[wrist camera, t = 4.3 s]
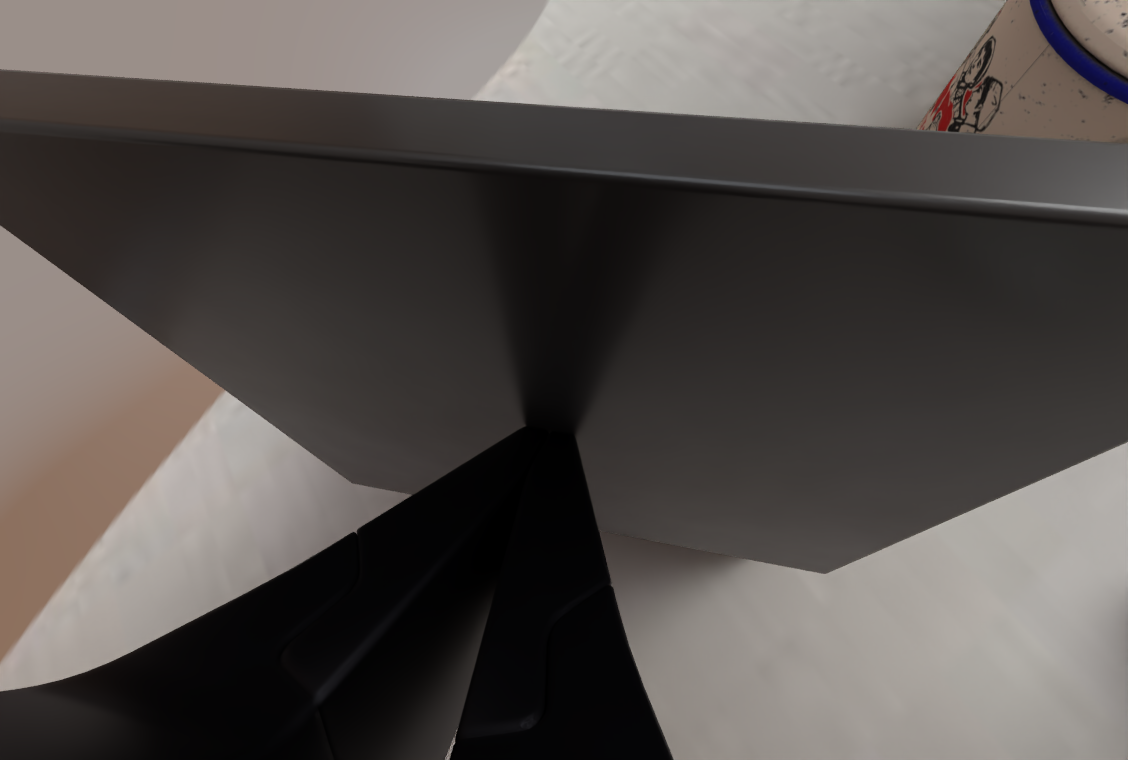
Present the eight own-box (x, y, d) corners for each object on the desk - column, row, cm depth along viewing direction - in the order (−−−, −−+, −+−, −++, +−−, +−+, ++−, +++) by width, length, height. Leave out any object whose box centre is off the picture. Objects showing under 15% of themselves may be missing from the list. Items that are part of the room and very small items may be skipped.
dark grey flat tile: (-99, 57, 5) (-165, 108, 5) (1485, 161, 3) (1570, 258, 3) (361, 456, 15) (350, 483, 15) (825, 541, 13) (826, 575, 13)
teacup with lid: (922, 77, 24) (1175, -317, 13) (1151, 134, 22) (1680, -274, 11) (837, 300, 22) (1062, 46, 10) (1086, 387, 20) (1691, 189, 8)
